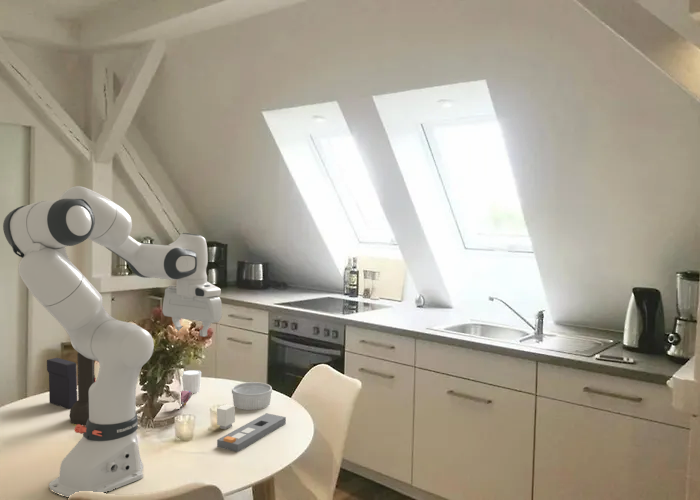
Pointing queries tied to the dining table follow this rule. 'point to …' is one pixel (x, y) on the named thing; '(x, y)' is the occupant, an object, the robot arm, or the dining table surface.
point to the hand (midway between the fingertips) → (191, 334)
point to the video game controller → (185, 397)
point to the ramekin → (251, 395)
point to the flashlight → (83, 390)
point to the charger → (225, 416)
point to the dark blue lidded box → (62, 382)
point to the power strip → (251, 432)
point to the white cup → (191, 380)
